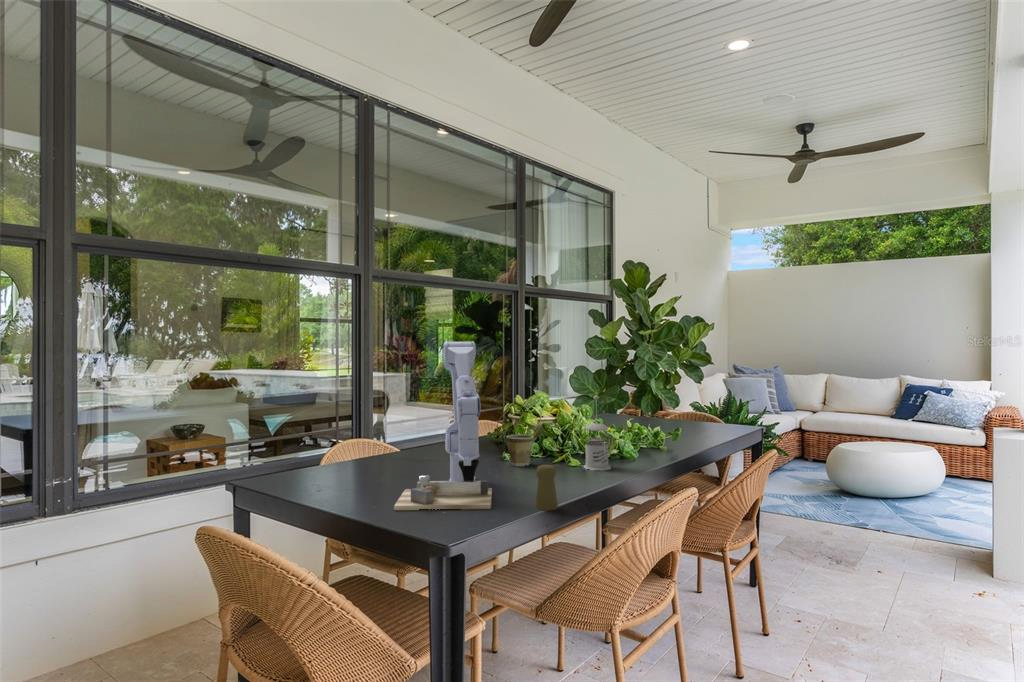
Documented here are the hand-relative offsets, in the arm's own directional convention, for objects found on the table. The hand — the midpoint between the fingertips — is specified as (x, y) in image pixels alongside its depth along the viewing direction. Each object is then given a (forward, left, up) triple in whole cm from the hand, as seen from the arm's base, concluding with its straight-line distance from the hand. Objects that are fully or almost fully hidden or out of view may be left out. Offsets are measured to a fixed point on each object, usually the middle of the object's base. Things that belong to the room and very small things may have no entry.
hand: (468, 486), depth 172 cm
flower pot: (-45, +16, -3) cm, 47 cm away
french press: (-37, +43, -3) cm, 57 cm away
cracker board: (+6, -6, -2) cm, 9 cm away
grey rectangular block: (+12, -12, -1) cm, 17 cm away
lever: (+4, -4, -1) cm, 6 cm away
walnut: (+10, -10, -1) cm, 14 cm away
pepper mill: (+14, +21, -3) cm, 26 cm away
